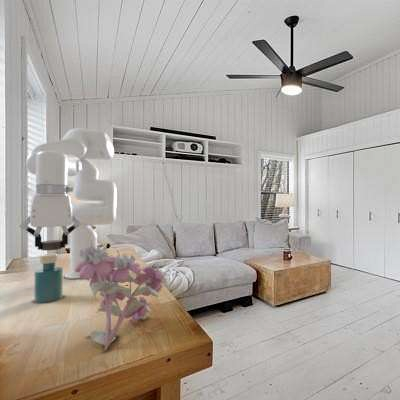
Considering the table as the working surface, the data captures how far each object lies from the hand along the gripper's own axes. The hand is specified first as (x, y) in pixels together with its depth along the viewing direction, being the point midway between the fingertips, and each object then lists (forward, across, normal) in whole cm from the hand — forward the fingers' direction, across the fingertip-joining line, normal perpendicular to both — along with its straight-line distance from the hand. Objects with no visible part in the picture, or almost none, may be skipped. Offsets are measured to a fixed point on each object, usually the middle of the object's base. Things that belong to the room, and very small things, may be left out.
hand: (51, 247), depth 93 cm
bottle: (+19, +1, -8) cm, 20 cm away
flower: (+18, -15, +33) cm, 40 cm away
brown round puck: (0, 0, 0) cm, 0 cm away
